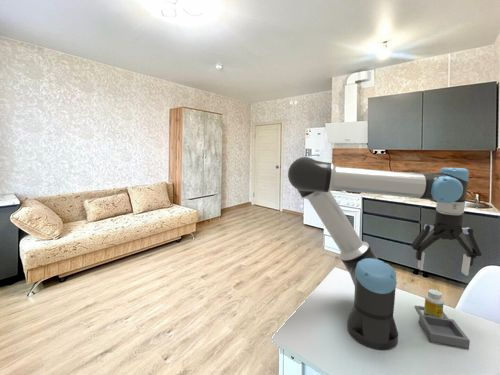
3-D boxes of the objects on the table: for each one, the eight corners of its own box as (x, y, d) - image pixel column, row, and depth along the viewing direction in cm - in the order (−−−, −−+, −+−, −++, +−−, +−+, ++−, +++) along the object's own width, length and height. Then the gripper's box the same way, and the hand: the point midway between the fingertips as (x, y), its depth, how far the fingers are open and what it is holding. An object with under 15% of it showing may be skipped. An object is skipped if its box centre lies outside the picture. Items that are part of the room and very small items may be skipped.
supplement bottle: (427, 310, 94) (429, 286, 92) (444, 317, 89) (447, 293, 88) (421, 315, 91) (423, 290, 89) (438, 323, 86) (440, 297, 85)
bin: (430, 342, 77) (431, 333, 77) (418, 322, 87) (419, 314, 86) (468, 349, 74) (469, 340, 74) (452, 327, 84) (453, 319, 84)
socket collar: (423, 321, 87) (423, 319, 87) (414, 307, 95) (414, 305, 95) (453, 326, 84) (453, 324, 84) (441, 311, 93) (441, 309, 93)
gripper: (412, 212, 84) (406, 271, 87) (501, 218, 78) (491, 281, 80) (404, 207, 91) (399, 262, 94) (485, 213, 85) (477, 271, 87)
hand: (441, 271), depth 87 cm, fingers open, 13 cm apart
